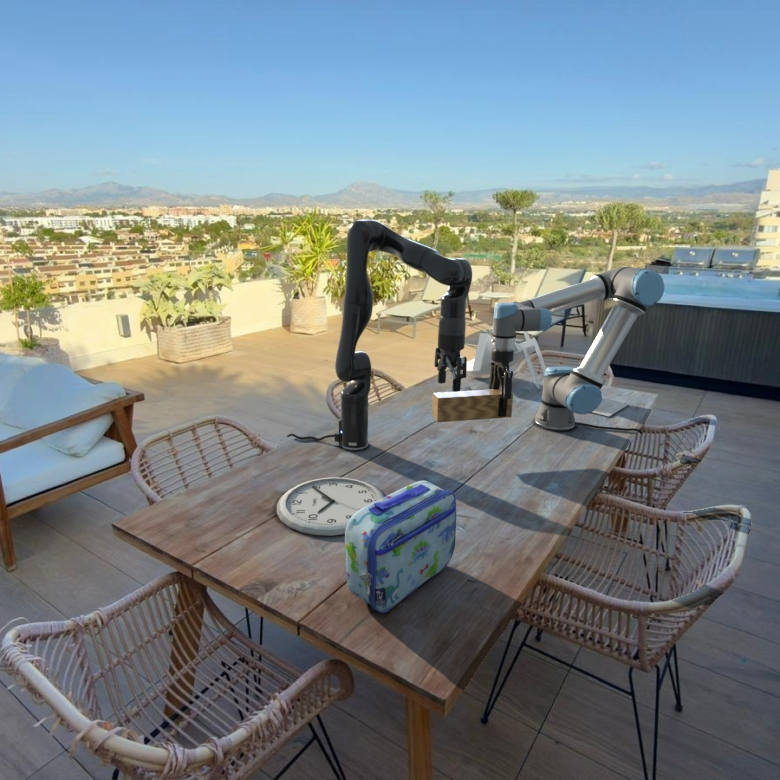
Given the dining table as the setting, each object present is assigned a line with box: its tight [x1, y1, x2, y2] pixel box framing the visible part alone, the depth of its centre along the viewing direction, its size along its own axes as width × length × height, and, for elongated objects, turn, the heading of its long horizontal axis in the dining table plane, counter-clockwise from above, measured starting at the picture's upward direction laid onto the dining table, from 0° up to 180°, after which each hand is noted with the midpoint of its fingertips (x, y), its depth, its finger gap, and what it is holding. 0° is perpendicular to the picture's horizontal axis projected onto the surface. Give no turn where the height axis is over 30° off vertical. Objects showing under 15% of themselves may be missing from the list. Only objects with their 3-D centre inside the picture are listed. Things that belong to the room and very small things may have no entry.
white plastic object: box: [466, 331, 547, 390], centre depth 260 cm, size 37×45×31 cm
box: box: [431, 388, 514, 423], centre depth 181 cm, size 27×6×9 cm, turn 102°
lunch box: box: [344, 480, 457, 614], centre depth 109 cm, size 26×11×21 cm, turn 135°
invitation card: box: [591, 398, 629, 418], centre depth 226 cm, size 21×1×15 cm
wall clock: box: [276, 476, 386, 537], centre depth 142 cm, size 30×2×30 cm
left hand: (448, 387), depth 151 cm, fingers open, 8 cm apart
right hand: (498, 413), depth 184 cm, fingers closed on box, 6 cm apart
